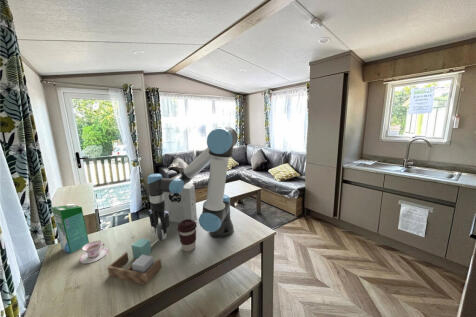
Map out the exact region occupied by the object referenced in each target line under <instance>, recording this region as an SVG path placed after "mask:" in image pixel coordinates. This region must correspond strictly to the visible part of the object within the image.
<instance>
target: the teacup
mask: <svg viewBox="0 0 476 317" xmlns="http://www.w3.org/2000/svg"><path fill="white" fill-rule="evenodd" d="M81 249H82V251H84V252H85V253H84V254H82V255H81V257H80V258H79V263H81V264H84V265H85V264H92V263H94V262H96V261H99V260H101V259H103V258H104V257H106V255H107V254H108V253H109V248H107V247H106V246H105V243H103V241H102V240H94V241H89V243H88V244H86V245H84V246H83V247H82V248H81Z"/></svg>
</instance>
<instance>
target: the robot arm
mask: <svg viewBox="0 0 476 317" xmlns="http://www.w3.org/2000/svg"><path fill="white" fill-rule="evenodd" d="M238 136H239V135H238V133H237V131H236V130H235V128H232V127H231V126H222V127H220V126H219V127H215V128H214V129H212V130H211V131H210V132H209V133H208V135H207V138H206V145H207V147H206V149H204V150H203V151H202V152H201V153H200V154H199V155H198V156H196V158H195V159H194V160H192V161H191V162H190V163H189V164H188V165H187V166H186V167H185V168H183V170H182V171H181V172H179V173H178V174H176V175H174V176H173V177H171V178H164V177H163V174H161V173H152V174H149V175H148V176H147V186H148V196H149V202H150V203H149V204H150V209H149V210H148V211H147V214H148V216H149V223H150V226H151V228H154V232H155V235H156V240H157V239H158V237H157V228H156V225H157V224H159V221H160V223H161V225H162V229H161V231H162V241H163V240H165V239H166V238H167V233H168V232H167V230H168V228H169V227H170V221H169V214H170V212H167V211H166V210H165V201H164V192H169V193H180V192H182V190H183V188H184V185H185V184H188V183H189V182H191V181H192V179H194V178H195V177H196V176H197V175H198V174H199V173H201V171H203V170H204V168H206V167H207V166H208V165H209V166H210V167H209V174H208V184H207V194H206V200H205V201H204V202H203V204H202V212H201V214H200V215H199V217H198V224H199V226H200V228H201V229H203V230H204V231H206V232H208V233H209V234H210V236H212V237H214V238H219V239H220V238H227V237H230V235H232V234H233V232H234V224H233V222H232V219H231V198H230V196H229V195H227V194H225V188H226V180H227V173H228V166H229V160H230V159H231V158H232V157H233V152H234V147H235V145H237V143H238V139H239V137H238ZM164 213H165V215H164ZM164 216H165V218H164Z"/></svg>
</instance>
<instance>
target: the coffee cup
mask: <svg viewBox="0 0 476 317" xmlns="http://www.w3.org/2000/svg"><path fill="white" fill-rule="evenodd" d="M178 223H179V224H177V231H178V235H179V242H180V244H181V245H180V246H181V249H182V251H184V252H191V251H193V250H194V249H195V248H196V245H197V244H196V242H197V241H196V240H197V224H198V223H197V222H196V220H195V221H193V220H191V219H186V220H183V221H181V222H178Z"/></svg>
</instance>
